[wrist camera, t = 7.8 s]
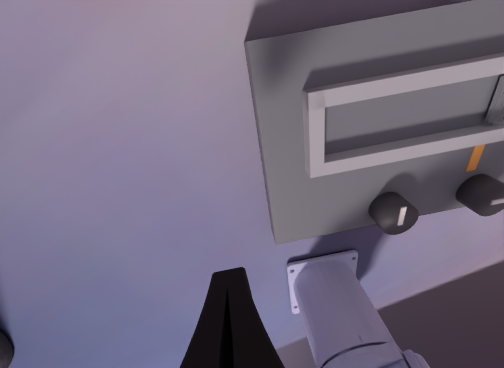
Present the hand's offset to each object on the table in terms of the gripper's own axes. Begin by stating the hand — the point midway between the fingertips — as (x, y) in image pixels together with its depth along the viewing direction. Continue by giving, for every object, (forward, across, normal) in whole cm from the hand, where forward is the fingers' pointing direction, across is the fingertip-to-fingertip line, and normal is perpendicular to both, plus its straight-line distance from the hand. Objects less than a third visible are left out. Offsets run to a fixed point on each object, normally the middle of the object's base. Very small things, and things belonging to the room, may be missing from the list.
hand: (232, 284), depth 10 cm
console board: (+10, -15, -1) cm, 18 cm away
